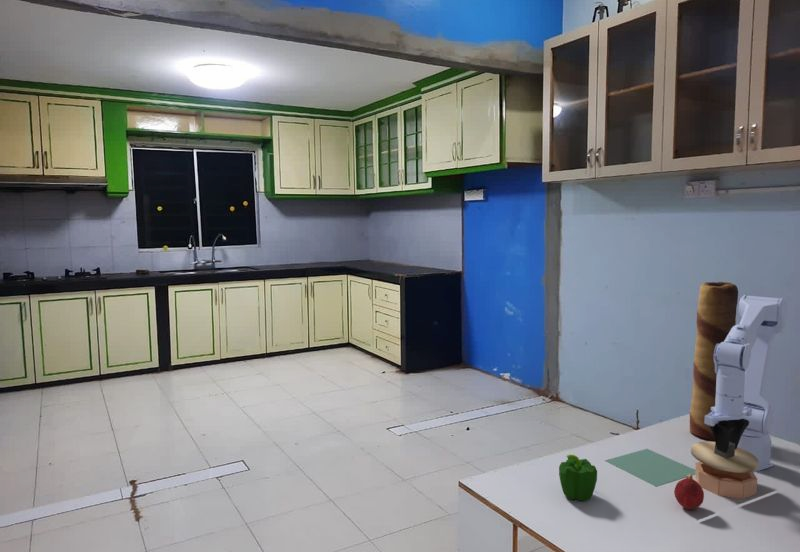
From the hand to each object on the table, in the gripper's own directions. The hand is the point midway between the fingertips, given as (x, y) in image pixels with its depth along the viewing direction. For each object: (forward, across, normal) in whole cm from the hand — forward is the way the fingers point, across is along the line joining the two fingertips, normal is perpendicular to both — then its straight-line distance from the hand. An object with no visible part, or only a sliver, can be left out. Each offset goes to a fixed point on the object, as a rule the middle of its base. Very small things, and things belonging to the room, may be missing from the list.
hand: (726, 449), depth 133 cm
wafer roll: (+10, -26, -22) cm, 35 cm away
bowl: (+9, 0, 0) cm, 9 cm away
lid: (+2, 0, -1) cm, 2 cm away
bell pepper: (+10, +34, -13) cm, 38 cm away
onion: (+10, +17, +3) cm, 20 cm away
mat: (+9, +7, -15) cm, 19 cm away
